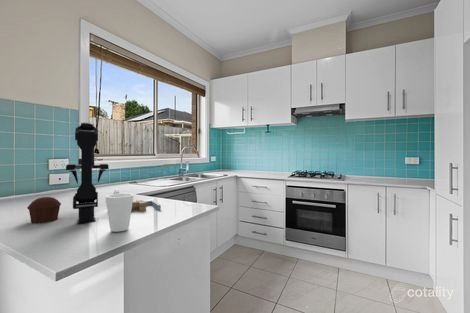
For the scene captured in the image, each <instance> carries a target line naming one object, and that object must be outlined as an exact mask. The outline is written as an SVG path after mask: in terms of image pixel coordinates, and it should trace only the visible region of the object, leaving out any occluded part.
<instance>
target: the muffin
mask: <svg viewBox="0 0 470 313" xmlns="http://www.w3.org/2000/svg"><path fill="white" fill-rule="evenodd" d="M61 205H62V203H61V202H60V201H59V200H58V199H57V198H55V197H51V196H44V197H39V198H36V199H34V200H33V201H32V202H30V204H29V205H28V206H27V207H26V208H27V210H28V213H29V217H30V218H29V219H30V222H31V224H38V225H39V224H47V223H52V222H54V221H55V222H56V221H57V220H58V218H59V212H60V207H61Z"/></svg>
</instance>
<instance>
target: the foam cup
mask: <svg viewBox="0 0 470 313" xmlns="http://www.w3.org/2000/svg"><path fill="white" fill-rule="evenodd" d="M132 202H134V194H133V193H129V192H128V193H119V194H114V193H112V194H107V195H105V203H106V210H107V216H108V223H109V228H110V232H116V233H117V232H124V231H126V230H128V229H129V227H130V222H131V215H132V211H131V209H132Z"/></svg>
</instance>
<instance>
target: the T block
mask: <svg viewBox="0 0 470 313" xmlns="http://www.w3.org/2000/svg"><path fill="white" fill-rule="evenodd" d="M144 201H145V200H143V199H137V200H136V201H133V202H132V209H131V212H136V211H139V212H146V211H147V206H146V202H144Z"/></svg>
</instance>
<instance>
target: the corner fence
mask: <svg viewBox="0 0 470 313" xmlns="http://www.w3.org/2000/svg"><path fill="white" fill-rule="evenodd" d="M143 201H144V202H146V207H147V206H151V207H153V208H154V209H156V210H157V211H158V212H159V211H161V209H162V208H161V206H162V204H159V203H158V202H156V201H155V200H152V199H150V200H143Z"/></svg>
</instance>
